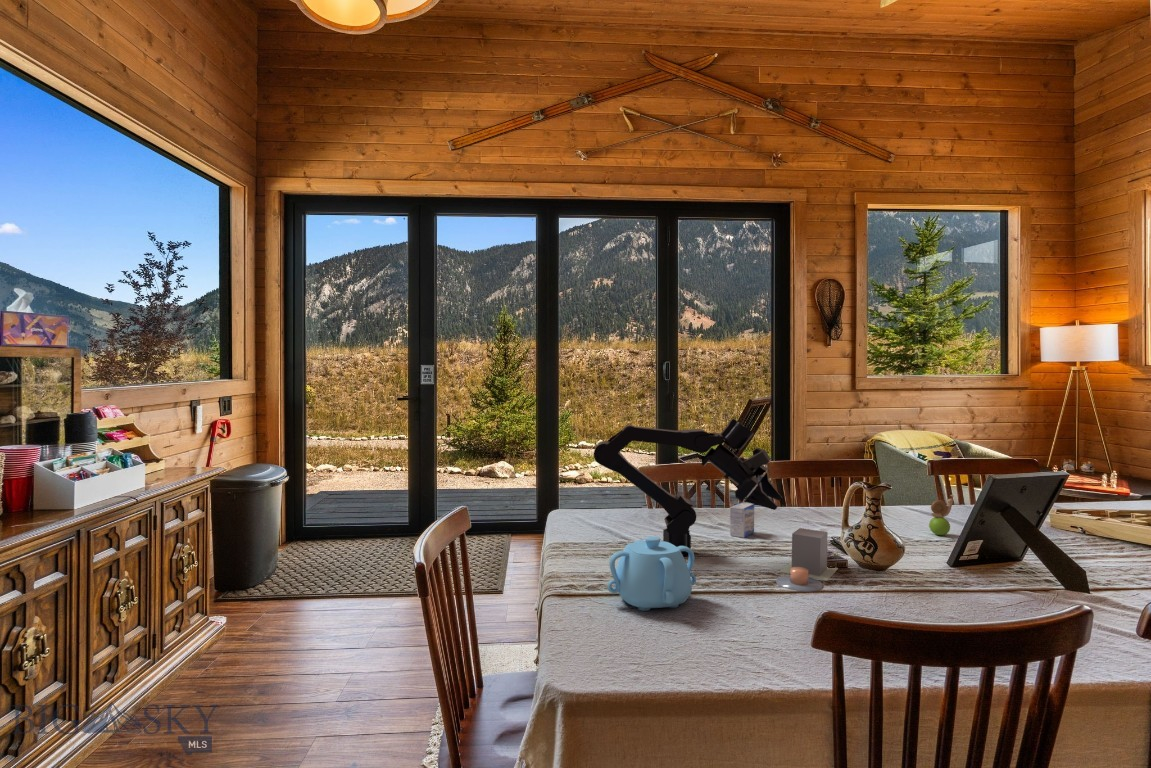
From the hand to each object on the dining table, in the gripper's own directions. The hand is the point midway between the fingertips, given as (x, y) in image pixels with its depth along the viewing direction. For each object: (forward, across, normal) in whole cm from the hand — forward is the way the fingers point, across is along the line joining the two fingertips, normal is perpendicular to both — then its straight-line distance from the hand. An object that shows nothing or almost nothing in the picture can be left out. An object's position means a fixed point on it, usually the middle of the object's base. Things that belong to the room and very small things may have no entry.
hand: (778, 503), depth 162 cm
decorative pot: (-9, -41, +22) cm, 47 cm away
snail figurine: (+43, +46, -10) cm, 64 cm away
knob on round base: (+14, -17, +7) cm, 23 cm away
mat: (+15, -6, +7) cm, 17 cm away
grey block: (+15, -6, +6) cm, 17 cm away
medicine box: (-1, +21, +21) cm, 30 cm away
